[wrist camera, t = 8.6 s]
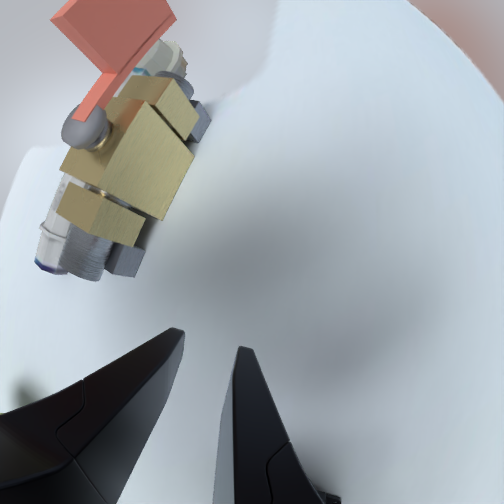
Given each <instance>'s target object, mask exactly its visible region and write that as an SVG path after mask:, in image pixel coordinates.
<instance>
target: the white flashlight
mask: <svg viewBox="0 0 504 504" xmlns="http://www.w3.org/2000/svg"><path fill="white" fill-rule="evenodd" d="M182 55H183V51H182V50H181V48H180V47H179V46H178V45H177V43H176V42H171V41H165V42H163V41H162V40H160V39H158V40H157V42H156V43H155V44H154V45H153V46H152V47H151V48H150V49H149V51H148V52H147V53H146V54H145V55H144V57H143V58H142V59H141V60H140V61H139V63H138V64H137V65H136V66H135V68H134V69H133V70H132V71H131V73H130V74H129V75H128V77H127V78H126V79H125V81H124V82H123V83H122V85H121V86H120V87H119V89H118V90H117V91H116V93H115V94H114V96H113V97H117V96H118V95H119V93H120V92H121V90H122V89H123V87H124V86H125V84H126V83H127V82H128V80H129V79H130V77H131V76H132V75H141V76H154V75H155V74H156V73H157V72H158V71H169V72H173V73H175V74H177V75H179V76H181V77H183V78H184V77H185V76H186V73H185V71H186V65H187V64H188V63H187V62H186V61H185V59H184V58H183V57H182ZM69 181H70V182H72V183H74V184H76V185H78V186H80V187H82V188H84V189H86V190H87V189H88V187H89V185H87V184H85V183H84V182H82V181H80V180H78V179H76V178H74V177H72V176H70V175H68V174H66V173H64V175H63V177H62V179H61V182H60V184H59V187H58V189H57V191H56V194H55V196H54V199H53V201H52V204H51V206H50V209H49V212H48V214H47V217H46V220H45V221H44V222H43V223H42V224H41V225H40V227H39V229H41V230H42V233H41V236H40V240H39V244H38V248H37V252H36V256H35V260H34V262H35V263H36V264H37V265H38V266H39V268H40V269H41V270H44V271H47V272H49V273H52V274H55V275H63V274H67V273H68V271H66V270H65V269H63V268H62V267H61V266H60V265H59V263H58V260H59V257H60V255H61V252H62V249H63V246H64V244H65V241H66V238H67V236H68V233H69V231H70V228H71V226H72V223H71V222H69V221H68V220H66V219H65V218H63V217H62V216H60V215H58V214H57V213H56V210H57V208H58V205H59V203H60V201H61V198H62V196H63V194H64V192H65V189H66V187H67V185H68V183H69Z"/></svg>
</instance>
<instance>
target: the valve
mask: <svg viewBox="0 0 504 504" xmlns="http://www.w3.org/2000/svg"><path fill="white" fill-rule="evenodd" d="M193 93H194V90H193V87H192V86H191V84H190V83H189V82H188V81H186V80H185V79H184V78H183V77H181V76H179V75H177V74H175V73H173V72H169V71H158V72H157V73H156V74H155V75H154V76H141V75H132V76H131V77H130V79H129V80H128V82H127V83H126V84H125V86H124V87H123V89H122V90H121V92H120V93H119V95H118V96H117V97H112V98H111V100H110V101H109V103H108V104H107V106H106V107H105V109H104V110H105V111H106V114H107V119H106V124H105V126H104V128H103V130H102V132H101V133H100V135H99V136H98V138H97V139H96V140H95V141H94V142H93V143H92V144H91V145H89V146H88V147H86V148H84V149H80V150H77V149H75V148H73V147H72V146H71V148H70V150H69V151H68V153H67V155H66V157H65V159H64V161H63V163H62V165H61V167H60V169H59V170H61V171H63V172H64V173H66V174H68V175H70V176H72V177H74V178H76V179H78V180H80V181H82V182H84V183H85V184H87V185H89V187H88V189H87V190H86V189H84V188H82V187H80V186H78V185H76V184H74V183H72V182H70V181H69V183H68V185H67V187H66V189H65V192H64V194H63V196H62V198H61V201H60V203H59V205H58V208H57V210H56V213H57V214H58V215H60V216H62V217H63V218H65V219H66V220H68V221H69V222H71V223H72V226H71V228H70V231H69V233H68V236H67V238H66V241H65V244H64V246H63V249H62V252H61V255H60V257H59V260H58V263H59V265H60V266H61V267H62V268H63V269H65V270H66V271H68V272H70V273H72V274H74V275H76V276H78V277H80V278H83V279H86V280H90V281H99V280H100V278H101V276H102V273H103V270H104V269H105V270H107V271H108V272H110V273H112V274H115V275H121V276H128V277H135V275H136V272H137V270H138V267H139V265H140V263H141V260H142V258H143V256H144V253H145V250H143V249H141V248H139V247H137V246H135V245H134V244H135V241H136V239H137V237H138V235H139V232H140V230H141V228H142V226H143V224H144V221H145V219H146V218H144V217H142V216H140V215H138V214H136V213H134V212H132V211H130V210H129V209H130V207H133V208H135V209H137V210H139V211H141V212H144V213H146V214H148V215H150V216H152V217H155V218H157V219H159V220H161V221H162V220H163V218H164V216H165V214H166V212H167V210H168V208H169V206H170V204H171V202H172V200H173V197H174V195H175V193H176V191H177V189H178V187H179V185H180V183H181V182H182V180H183V178H184V176H185V174H186V172H187V170H188V168H189V166H190V164H191V162H192V160H193V159H194V157H195V156H194V155H193V154H192V153H191V152H190V151H189V150H188V148H187V147H186V146H185V145H184V144H183V143H182V142H181V140H184V141H186V140H190V141H194V142H197V143H199V141H200V140H201V138H202V136H203V134H204V133H205V131H206V129H207V127H208V126H209V124H210V122H211V119H210V117H209V116H208V114H207V113H206V111H205V109H204V108H203V106H202V105H201V103H200V102H199V101H195V100H190V98H191V97H192V95H193Z"/></svg>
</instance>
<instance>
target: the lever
mask: <svg viewBox="0 0 504 504" xmlns="http://www.w3.org/2000/svg"><path fill="white" fill-rule="evenodd" d="M176 20H177V19H176V17H175V15H174V14H173V12H172V10H171V9H170V7H169V5H168V3H167V1H166V0H69V1H68V2H67V3H66V4H65V5H64V6H63V7H62V8H61V9H60V10H59V11H58V12H57V13H56V14H55V15H54V16H53V17H52V18H51V19H50V21H51V22H52V23H53V24H55V26H57V27H58V28H59V30H60V31H61V32H62V33H64V35H66V37H67V38H68V39H69V40H70V41H72V43H73V44H74V45H75V46H76V47H77V48H78V49H79V50H80V51H81V52H83V54H84V55H86V57H87V58H88V59H89V60H90V61H91V62H92V63H93V64H95V66H96V67H97V68H98V69H99V70H100V71H101V72H102V75H101V76H100V78H99V79H98V80H97V81H96V83H95V84H94V85H93V87H92V88H91V90H90V91H89V92H88V94H87V95H86V97H85V98H84V100H83V101H82V102H81V104H79V105H78V106H77V107H76V108H74V109H73V111H72V112H71V113H70V114H69V116H68V117H67V119H66V120H65V123H64V125H63V128H62V132H61V136H62V140H63V141H64V142H65V143H67V144H68V145H70V146H72V147H73V148H75V149H77V150H80V149H84V148H86V147H88V146H89V145H91V144H92V143H93V142H94V141H95V140H96V139H97V138H98V136H99V135H100V133H101V132H102V130H103V128H104V126H105V124H106V119H107V114H106V111H105V110H104V109H105V107H106V106H107V104H108V103H109V101H110V100H111V98H112V97H113V96H114V94H115V93H116V91H117V90H118V89H119V87H120V86H121V85H122V83H123V82H124V81H125V79H126V78H127V77H128V75H129V74H130V73H131V71H132V70H133V69H134V68H135V66H136V65H137V64H138V63H139V61H140V60H141V59H142V58H143V57H144V55H145V54H146V53H147V52H148V51H149V49H150V48H151V47H152V46H153V45H154V44H155V43H156V42H157V40H158V39H159V38H160V37H161V36H162V35H163V34H164V33H165V31H167V30H168V28H169V27H170V26H171V25H172V24H173V23H174V22H175V21H176Z"/></svg>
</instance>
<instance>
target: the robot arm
mask: <svg viewBox="0 0 504 504" xmlns="http://www.w3.org/2000/svg"><path fill="white" fill-rule="evenodd" d="M184 341H185V332H184V331H183V330H180V329H177V328H169V329H168V330H166V331H164V332H162V333H161V334H159V335H157V336H156V337H154V338H152V339H151V340H149V341H147V342H146V343H144V344H142V345H140V346H139V347H137V348H135V349H134V350H132V351H130V352H128V353H127V354H125V355H123V356H122V357H120V358H118V359H116V360H115V361H113V362H111V363H109V364H108V365H106V366H104V367H102V368H101V369H99V370H97V371H95V372H94V373H92V374H90V375H88V376H87V377H85V378H84V379H83V380H79V381H78V382H76V383H74V384H72V385H70V386H69V387H67V388H65V389H63V390H61V391H59V392H57V393H55V394H52V395H50V396H48V397H46V398H43V399H41V400H39V401H36V402H33V403H31V404H28V405H26V406H23V407H20V408H18V409H15V410H13V411H10V412H7V413H4V414H1V415H0V504H116V503H117V501H118V499H119V497H120V495H121V493H122V491H123V489H124V487H125V485H126V483H127V481H128V479H129V477H130V474H131V472H132V470H133V468H134V466H135V464H136V462H137V460H138V458H139V456H140V454H141V452H142V450H143V448H144V446H145V444H146V442H147V440H148V438H149V436H150V434H151V432H152V430H153V428H154V426H155V424H156V422H157V420H158V418H159V416H160V414H161V412H162V410H163V408H164V406H165V404H166V402H167V399H168V397H169V394H170V391H171V388H172V385H173V382H174V379H175V376H176V373H177V371H178V368H179V365H180V362H181V359H182V356H183V350H184ZM289 441H290V439H289V437H288V435H287V432H286V430H285V427H284V425H283V423H282V420H281V418H280V415H279V413H278V410H277V408H276V406H275V403H274V401H273V398H272V396H271V393H270V391H269V388H268V386H267V383H266V381H265V378H264V376H263V373H262V371H261V368H260V366H259V363H258V360H257V358H256V355H255V353H254V350H253V349H251V348H247V347H243V346H239V347H238V350H237V354H236V358H235V361H234V365H233V369H232V373H231V377H230V381H229V385H228V389H227V393H226V397H225V401H224V405H223V410H222V414H221V421H220V431H219V441H218V452H217V462H216V473H215V483H214V494H213V504H341V499H340V498H339V497H335V496H332V495H328V494H325V493H324V492H320V491H317V490H315V488H314V487H313V485H312V484H311V482H310V480H309V478H308V477H307V475H306V473H305V472H304V470H303V468H302V466H301V464H300V462H299V459H298V457H297V455H296V453H295V451H294V448H293V446H292V444H291V442H289ZM333 502H337V503H333Z"/></svg>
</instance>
